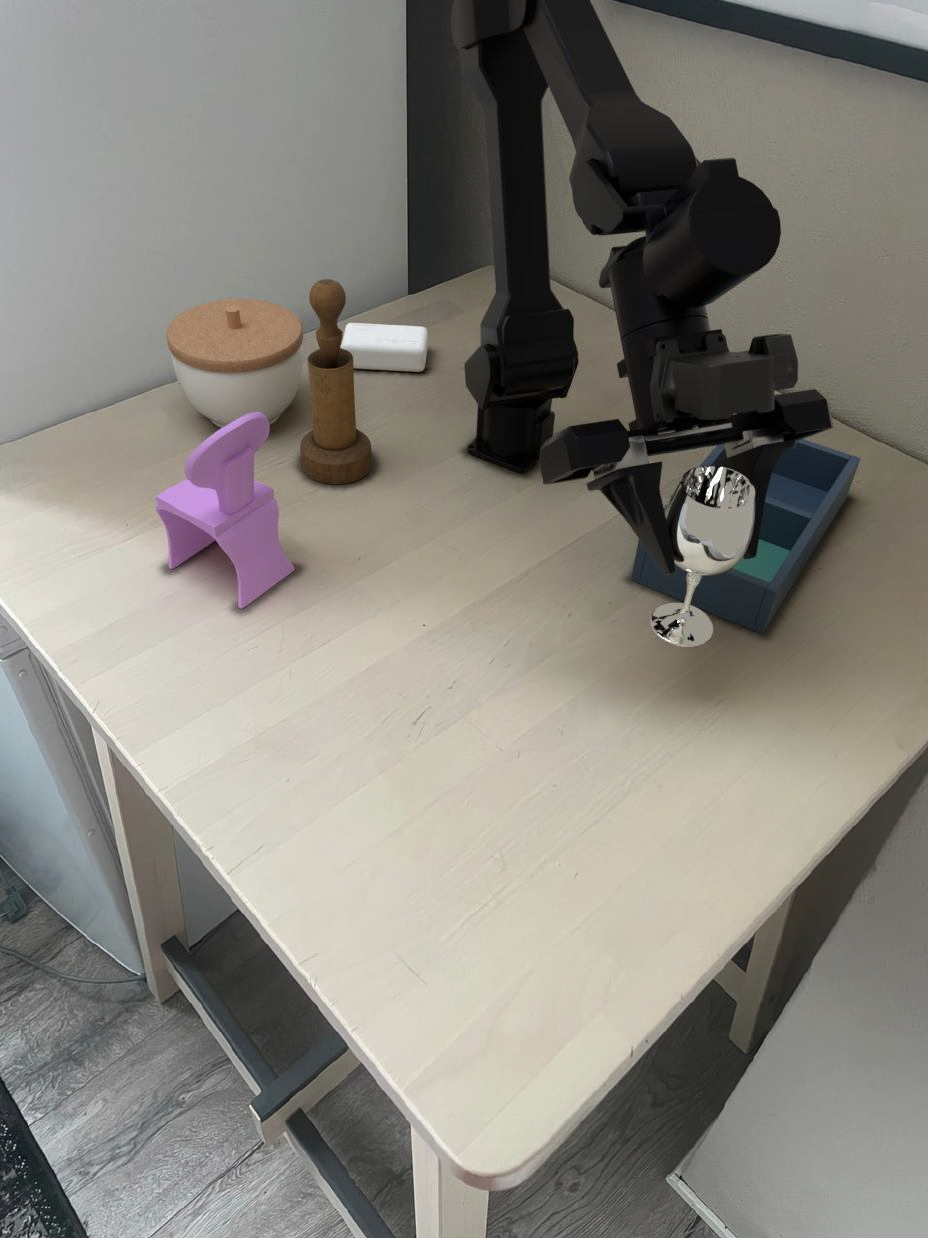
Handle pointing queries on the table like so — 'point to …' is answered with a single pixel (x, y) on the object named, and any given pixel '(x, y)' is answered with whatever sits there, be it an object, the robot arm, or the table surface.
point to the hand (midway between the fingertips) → (709, 566)
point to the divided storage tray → (768, 538)
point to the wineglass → (704, 543)
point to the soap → (386, 346)
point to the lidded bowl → (237, 358)
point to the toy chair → (228, 508)
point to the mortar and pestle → (332, 399)
